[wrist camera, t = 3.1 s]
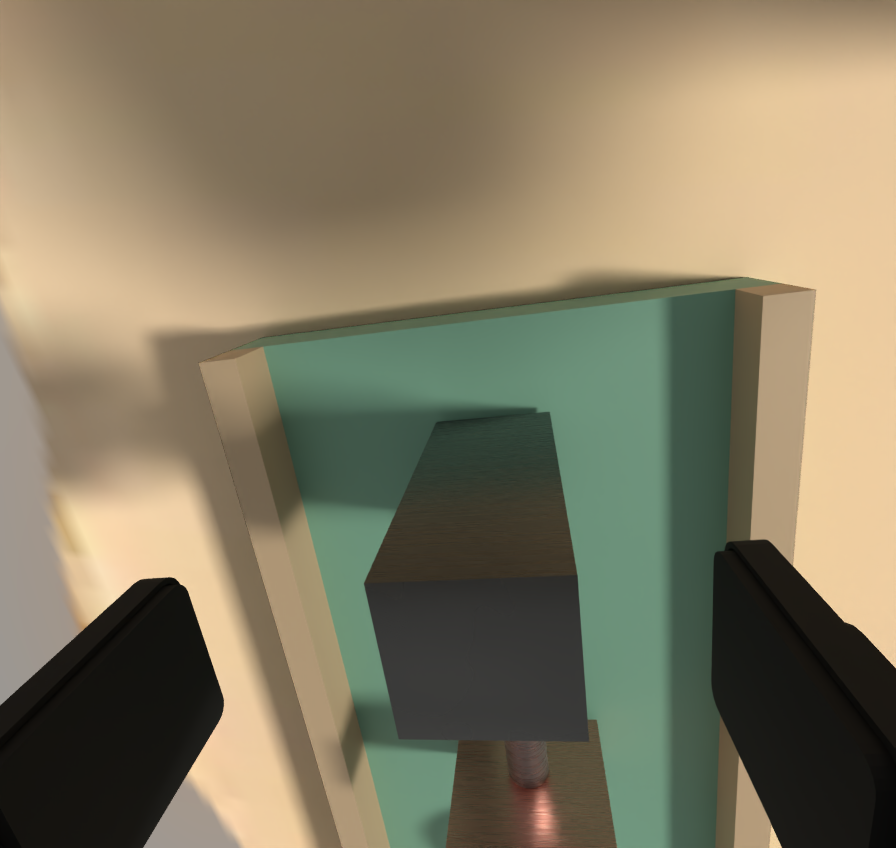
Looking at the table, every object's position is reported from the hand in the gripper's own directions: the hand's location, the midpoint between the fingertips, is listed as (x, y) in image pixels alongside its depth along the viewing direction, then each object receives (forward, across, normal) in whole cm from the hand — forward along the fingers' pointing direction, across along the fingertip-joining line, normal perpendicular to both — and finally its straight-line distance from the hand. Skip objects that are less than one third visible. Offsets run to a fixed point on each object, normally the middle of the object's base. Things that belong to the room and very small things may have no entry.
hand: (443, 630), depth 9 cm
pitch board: (+8, -1, +8) cm, 11 cm away
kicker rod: (+6, -1, +4) cm, 7 cm away
